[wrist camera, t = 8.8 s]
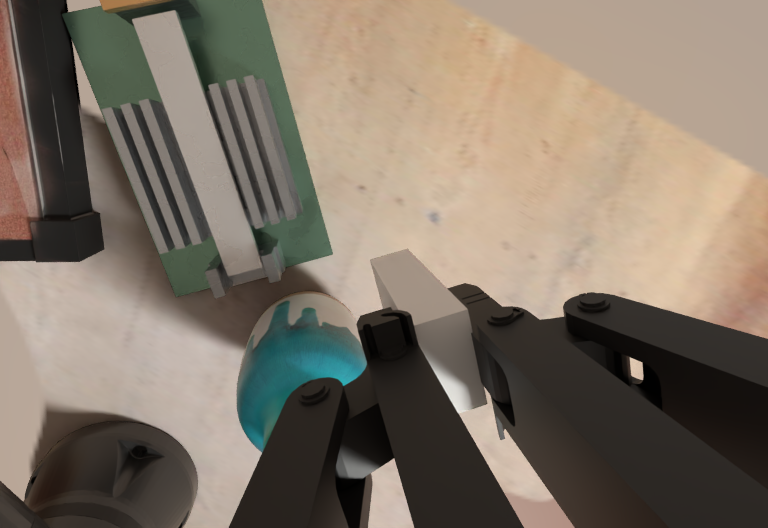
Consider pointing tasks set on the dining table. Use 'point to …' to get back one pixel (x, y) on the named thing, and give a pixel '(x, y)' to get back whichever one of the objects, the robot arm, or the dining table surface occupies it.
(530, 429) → the robot arm
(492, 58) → the dining table surface
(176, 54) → the strap
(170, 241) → the heatsink
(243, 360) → the vase
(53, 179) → the brown labeled slab
